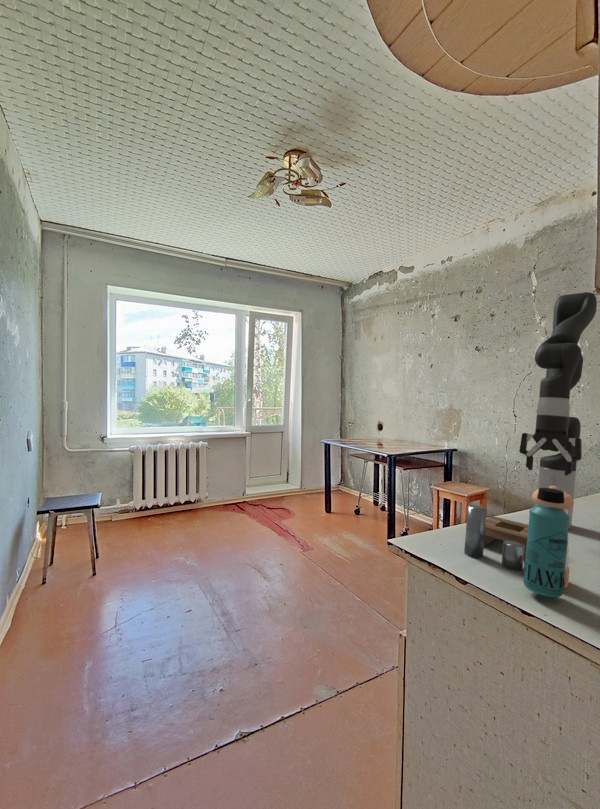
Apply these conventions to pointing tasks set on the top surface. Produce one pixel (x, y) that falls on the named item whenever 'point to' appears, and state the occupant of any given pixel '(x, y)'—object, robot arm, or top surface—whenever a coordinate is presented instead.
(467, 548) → the tall pin
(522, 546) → the short pin
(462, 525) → the top surface
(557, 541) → the beverage bottle
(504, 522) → the hole bridge
